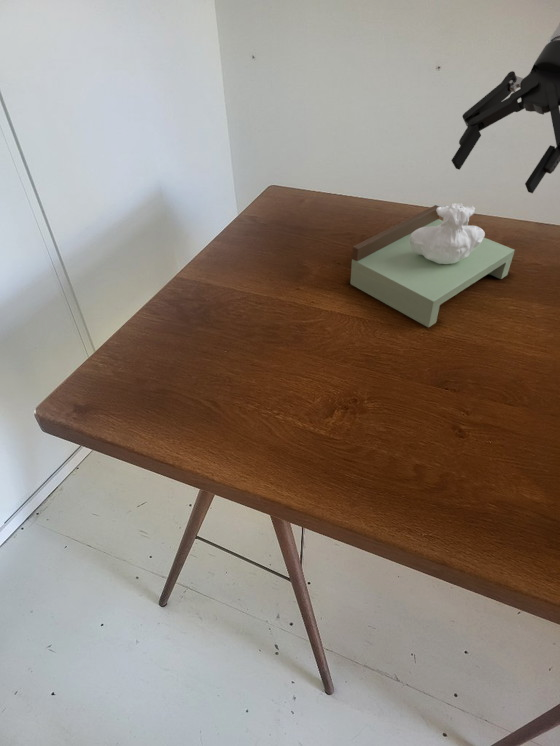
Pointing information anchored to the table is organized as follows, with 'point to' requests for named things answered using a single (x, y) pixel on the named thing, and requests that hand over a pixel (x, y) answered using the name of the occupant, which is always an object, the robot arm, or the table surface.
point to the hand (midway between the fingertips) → (490, 176)
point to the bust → (448, 236)
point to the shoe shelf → (420, 269)
